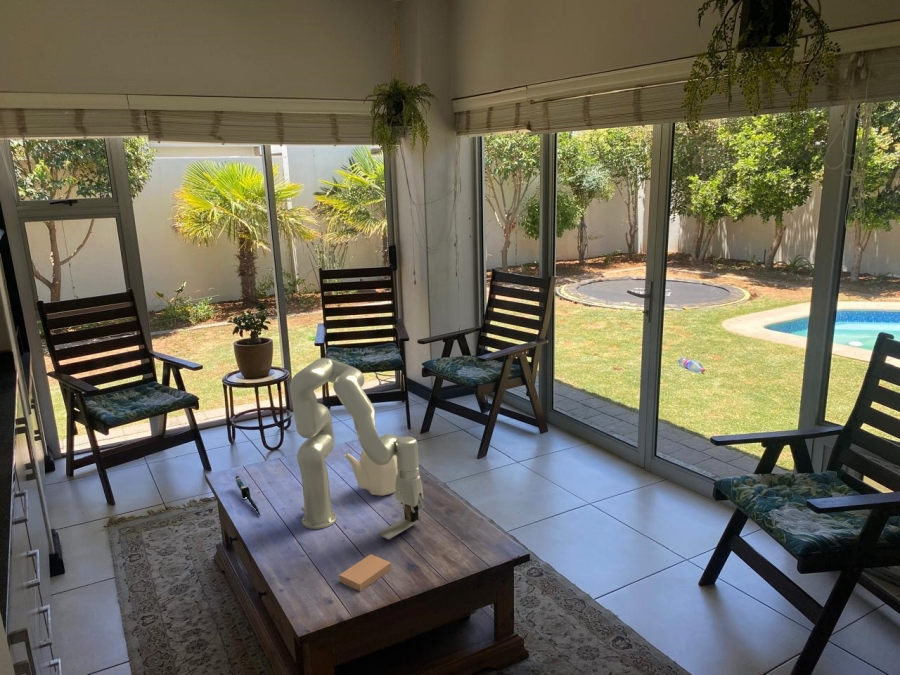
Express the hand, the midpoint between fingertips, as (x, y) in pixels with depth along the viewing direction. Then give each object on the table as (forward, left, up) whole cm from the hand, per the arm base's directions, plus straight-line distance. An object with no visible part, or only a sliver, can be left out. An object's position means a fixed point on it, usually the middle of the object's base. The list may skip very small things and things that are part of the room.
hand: (411, 519), depth 240 cm
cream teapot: (-30, +12, -3) cm, 32 cm away
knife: (-65, -26, -3) cm, 70 cm away
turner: (0, -6, -1) cm, 6 cm away
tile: (+9, -24, -2) cm, 25 cm away
